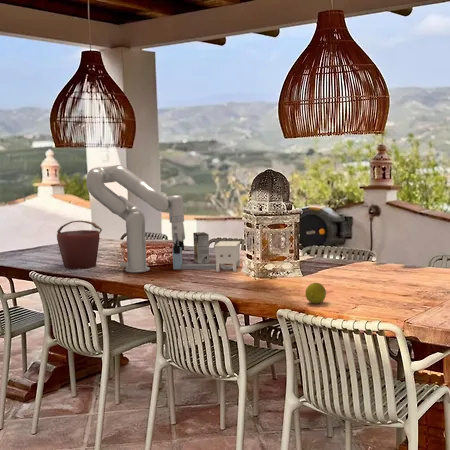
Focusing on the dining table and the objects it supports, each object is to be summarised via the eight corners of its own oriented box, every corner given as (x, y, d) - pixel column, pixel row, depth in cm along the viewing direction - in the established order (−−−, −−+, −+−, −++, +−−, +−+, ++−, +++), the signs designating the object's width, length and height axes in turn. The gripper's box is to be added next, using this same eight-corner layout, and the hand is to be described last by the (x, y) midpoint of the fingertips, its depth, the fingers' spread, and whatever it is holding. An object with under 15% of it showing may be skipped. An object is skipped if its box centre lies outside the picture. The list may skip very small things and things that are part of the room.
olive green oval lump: (320, 307, 245) (320, 286, 244) (301, 305, 249) (301, 284, 248) (330, 301, 255) (330, 281, 254) (311, 299, 258) (311, 279, 258)
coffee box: (193, 261, 357) (192, 232, 355) (205, 260, 359) (204, 231, 357) (198, 264, 348) (197, 234, 347) (209, 263, 350) (208, 233, 349)
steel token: (220, 270, 330) (220, 267, 330) (222, 268, 336) (222, 265, 336) (232, 270, 329) (232, 267, 329) (233, 268, 335) (233, 265, 335)
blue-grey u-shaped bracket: (173, 269, 335) (172, 248, 334) (175, 267, 339) (174, 247, 338) (215, 269, 331) (214, 248, 330) (216, 267, 335) (215, 246, 334)
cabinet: (214, 271, 324) (214, 246, 323) (220, 265, 342) (219, 241, 340) (236, 271, 323) (236, 246, 321) (240, 265, 340) (240, 241, 339)
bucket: (111, 264, 354) (109, 219, 352) (86, 271, 335) (84, 223, 332) (75, 262, 365) (72, 218, 362) (48, 269, 345) (46, 222, 342)
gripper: (180, 220, 325) (182, 254, 327) (187, 217, 342) (189, 249, 344) (165, 221, 326) (168, 255, 328) (173, 217, 343) (175, 249, 345)
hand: (179, 251), depth 336 cm, fingers open, 9 cm apart
